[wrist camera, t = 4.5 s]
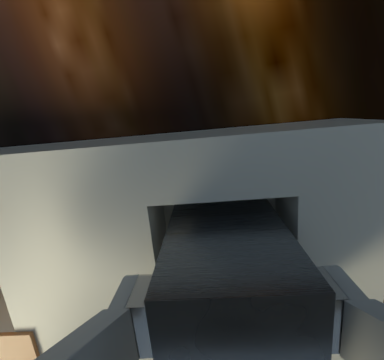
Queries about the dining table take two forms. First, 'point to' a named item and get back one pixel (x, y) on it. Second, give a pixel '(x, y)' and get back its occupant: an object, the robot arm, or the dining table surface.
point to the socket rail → (163, 206)
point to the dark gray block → (236, 288)
